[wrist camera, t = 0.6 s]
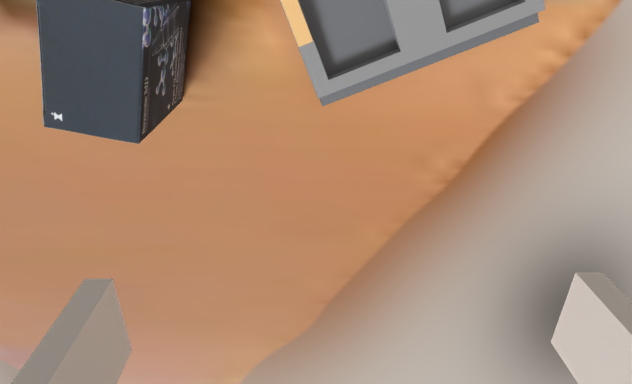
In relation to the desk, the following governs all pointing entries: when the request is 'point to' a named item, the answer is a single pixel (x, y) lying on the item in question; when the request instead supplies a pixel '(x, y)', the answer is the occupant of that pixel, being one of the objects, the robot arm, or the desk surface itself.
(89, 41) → the box
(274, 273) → the desk surface
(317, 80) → the dip bank
